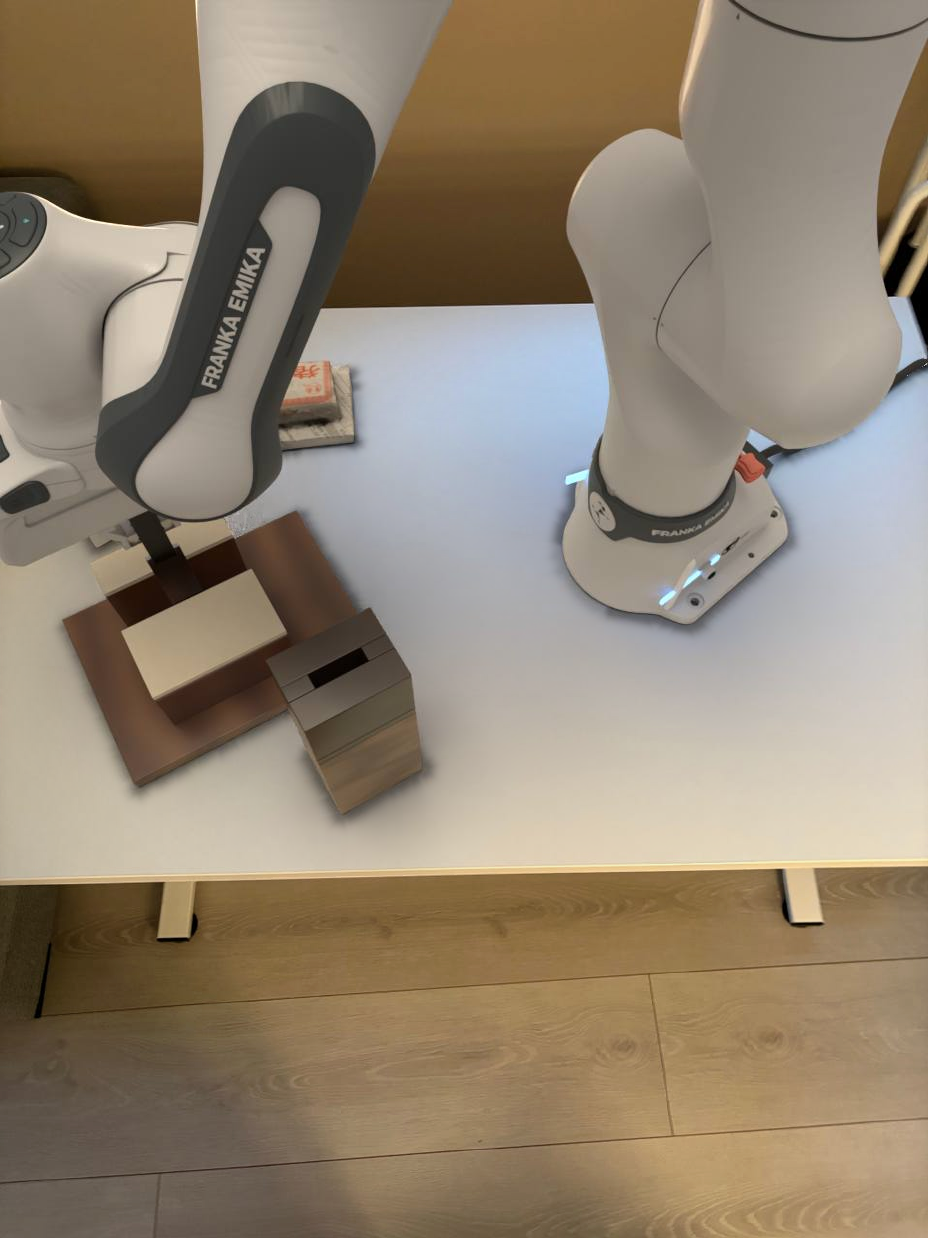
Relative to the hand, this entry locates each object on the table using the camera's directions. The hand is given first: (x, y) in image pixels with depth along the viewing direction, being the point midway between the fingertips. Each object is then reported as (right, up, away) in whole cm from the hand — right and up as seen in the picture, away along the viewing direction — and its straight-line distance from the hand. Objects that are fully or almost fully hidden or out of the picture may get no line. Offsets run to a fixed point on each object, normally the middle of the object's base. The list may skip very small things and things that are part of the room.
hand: (150, 531), depth 75 cm
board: (+3, -9, +11) cm, 14 cm away
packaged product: (+5, +14, +23) cm, 27 cm away
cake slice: (-1, -4, +12) cm, 12 cm away
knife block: (+17, -20, +5) cm, 27 cm away
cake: (+4, -11, +8) cm, 14 cm away
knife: (0, -5, +10) cm, 11 cm away
